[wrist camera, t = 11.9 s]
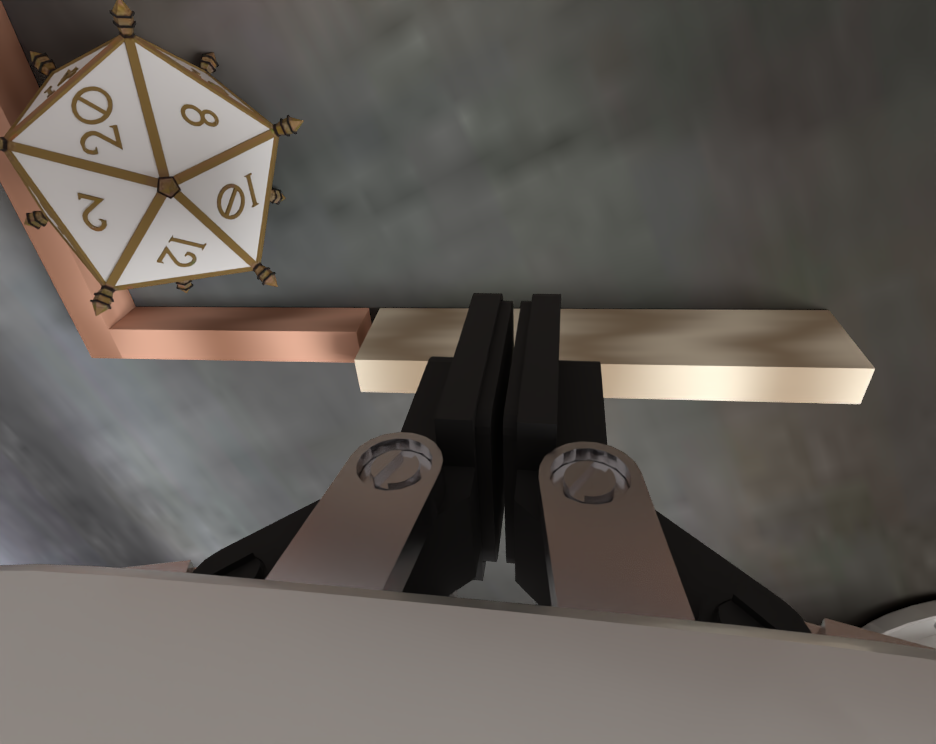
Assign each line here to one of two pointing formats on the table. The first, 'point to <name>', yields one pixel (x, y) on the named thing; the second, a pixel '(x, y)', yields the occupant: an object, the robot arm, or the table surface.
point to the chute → (452, 324)
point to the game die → (147, 165)
